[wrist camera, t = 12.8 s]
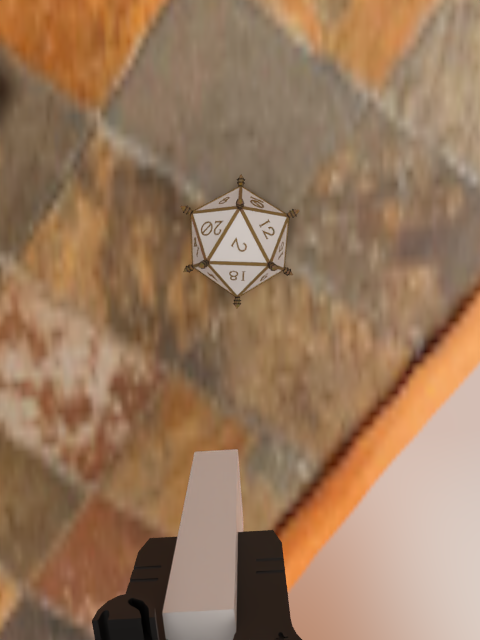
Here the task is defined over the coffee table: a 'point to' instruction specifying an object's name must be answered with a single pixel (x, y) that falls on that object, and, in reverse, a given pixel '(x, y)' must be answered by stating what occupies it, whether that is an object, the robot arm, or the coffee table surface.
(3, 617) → the coffee table surface
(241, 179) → the game die
